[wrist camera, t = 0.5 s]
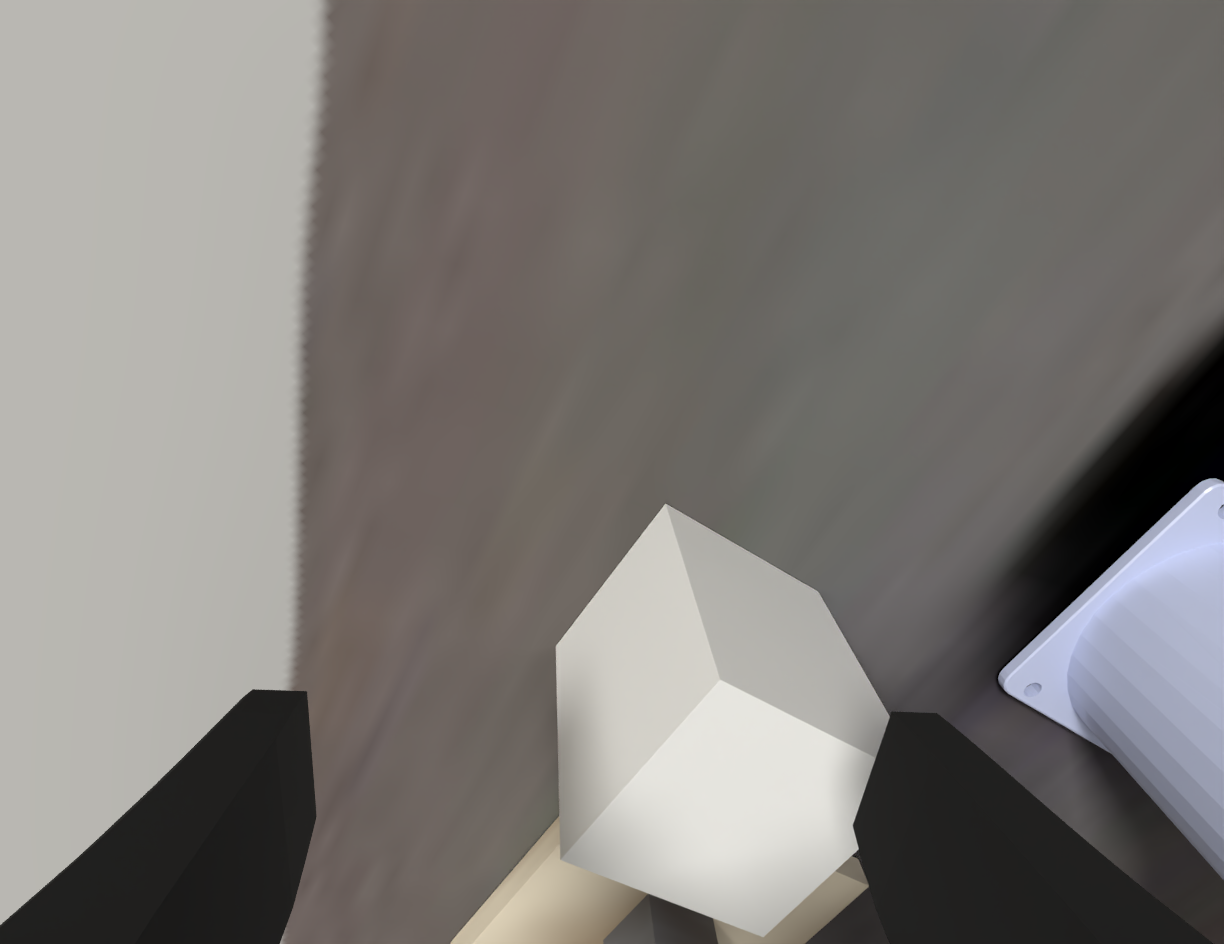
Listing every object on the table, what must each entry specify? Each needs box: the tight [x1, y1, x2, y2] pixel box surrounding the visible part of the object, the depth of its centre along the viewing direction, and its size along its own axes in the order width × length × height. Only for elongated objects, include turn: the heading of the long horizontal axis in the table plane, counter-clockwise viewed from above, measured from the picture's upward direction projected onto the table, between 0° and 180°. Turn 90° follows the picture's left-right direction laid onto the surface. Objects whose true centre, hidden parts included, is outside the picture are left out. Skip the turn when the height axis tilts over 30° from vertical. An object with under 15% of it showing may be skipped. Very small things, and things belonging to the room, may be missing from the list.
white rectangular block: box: [556, 504, 890, 937], centre depth 18 cm, size 5×5×7 cm
